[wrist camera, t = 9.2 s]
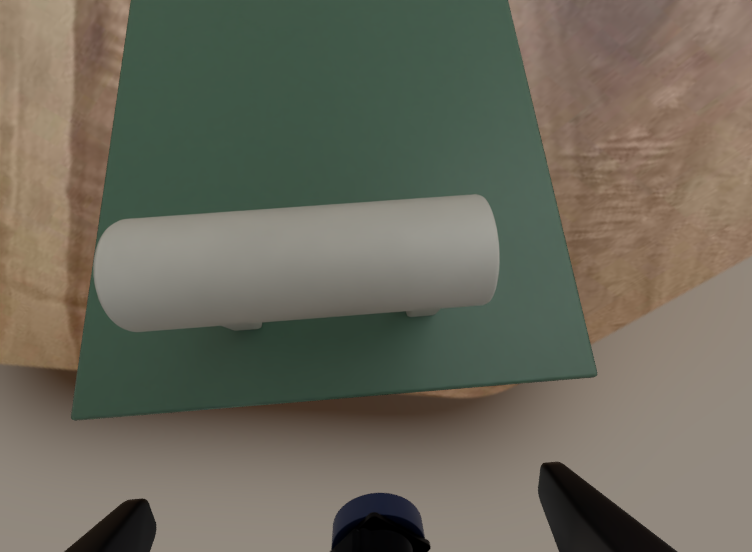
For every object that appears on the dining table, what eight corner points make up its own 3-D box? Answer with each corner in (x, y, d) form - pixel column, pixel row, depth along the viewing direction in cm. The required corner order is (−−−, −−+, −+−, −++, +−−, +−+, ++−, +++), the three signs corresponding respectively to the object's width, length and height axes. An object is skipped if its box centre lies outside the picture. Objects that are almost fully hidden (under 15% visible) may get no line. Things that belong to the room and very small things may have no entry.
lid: (583, 377, 9) (822, 371, 4) (92, 417, 9) (-257, 462, 4) (496, -2, 12) (572, -243, 7) (143, 18, 12) (-8, -219, 7)
